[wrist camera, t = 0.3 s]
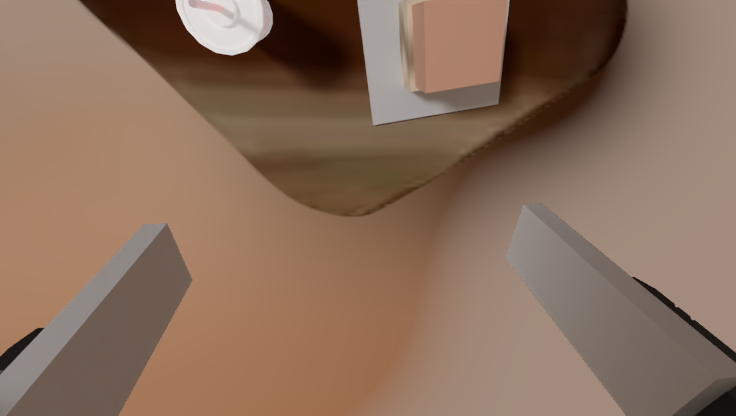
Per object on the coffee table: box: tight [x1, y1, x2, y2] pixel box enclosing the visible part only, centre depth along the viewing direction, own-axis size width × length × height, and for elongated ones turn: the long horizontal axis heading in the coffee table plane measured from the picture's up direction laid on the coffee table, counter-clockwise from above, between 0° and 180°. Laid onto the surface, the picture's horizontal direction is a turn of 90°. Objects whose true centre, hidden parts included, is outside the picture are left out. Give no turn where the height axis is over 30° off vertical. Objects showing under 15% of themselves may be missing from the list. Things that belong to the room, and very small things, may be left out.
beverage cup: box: [176, 0, 273, 55], centre depth 23 cm, size 6×6×14 cm
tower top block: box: [412, 0, 508, 93], centre depth 26 cm, size 7×7×4 cm
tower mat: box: [357, 0, 510, 125], centre depth 32 cm, size 16×16×1 cm
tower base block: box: [397, 0, 429, 92], centre depth 30 cm, size 8×8×4 cm
